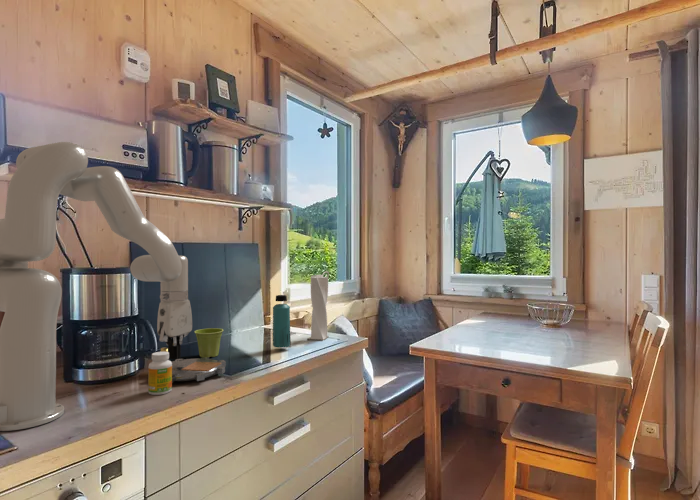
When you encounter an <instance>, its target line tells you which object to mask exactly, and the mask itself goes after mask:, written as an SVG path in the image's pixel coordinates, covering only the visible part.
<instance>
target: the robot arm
mask: <svg viewBox="0 0 700 500" xmlns="http://www.w3.org/2000/svg"><path fill="white" fill-rule="evenodd" d="M88 164H89V157H88V154H87V152H86V150H85V149H84V148H83V147H81V146H80V145H79V144H76V143H73V142H69V141H60V142H52V143H48V144H44V145H43V144H42V145H37V146H32V147H28V148H26V149H24V150H23V151H21V152H20V153H19V154H18V156H17V157H16V160H15V166H16V170H15V171H14V172H13V175H12V176H11V179H10V181H9V184H8V188H7V193H6V202H5V212H4V217H3V218H0V312H4V315H3V318H2V321H1V324H0V432H10V431H19V430H25V429H30V428H34V427H39V426H42V425H45V424H47V423H50V422H53V421H54V420H57V419H58V418H60V417H62V415H63V414H65V406H64V405H63V404H61V403H57V402H56V397H57V396H56V394H57V393H56V391H57V390H56V387H57V386H56V385H57V384H56V383H57V321H58V315H59V312H60V311H59V310H60V307H61V306H60V305H61V302H62V295H63V288H62V286H61V283H60V280H59V279H58V278H57V276H55V274H53V273H51V272H50V271H47V270H44V269H41V268H33V267H32V268H31V267H30V268H29V262H38V261H43V260H45V259H47V258H49V257H50V256H51V255H52V254H53V252H54V251H55V249H56V242H57V241H56V240H57V209H58V200H59V196H60V195H62V196H65V197H68V198H69V199H73V200H77V201H80V202H95V204H96V206H97V207H98V209H99V210H100V212H101V214H102V216H103V217H104V219H105V221H106V223H107V224H108V226H109V229H111V231H112V232H113V233H114V234H116V235H118V236H119V237H122V238H123V239H125V240H128V241H130V242H133V243H134V244H136V245H138V246H139V247H141V248H142V249H143V250H145V251H146V252H147V253H148V254H143V255H140V256H137V257H136V258H134V259H133V261H131V264H130V268H129V269H130V273H131V275H132V276H133V277H134V278H135V279H137V280H139V281H141V282H150V283H151V282H152V283H153V282H155V283H157V282H160V295H159V299H160V302H159V304H158V305H159V306H158V311H157V320H156V321H157V322H156V323H157V324H156V327H157V328H156V330H157V335H158V336H159V339H158V340H159V342H162V343H163V342H164V343H166V346H168V347H167V348H168V352H169V359H168V360H176V359H182V358H181V355H182V351H181V350H182V349H181V348H182V346H181V345H182V344H183V342H184V341H183V340H184V338H186V336H188V335H189V333H191V332H192V330H193V315H192V307H191V301H190V299H189V260H188V258H187V257H188V256H187V257H186V255H179V254H178V252H177V250H176V248H175V246H174V244H173V242H172V240H171V239H170V238H169V237H168V236H167V235H166V234H165V233H164V232H163V231H162V230H161V229H159V228H158V227H157V226H156V225H155V224H154V223H152V222H151V221H150V220H148V219H147V218H146V217H145V215H144V214H143V212H142V210H141V208H140V206H139V204H138V202H137V200H136V198H135V195H134V194H133V192H132V190H131V188H130V186H129V185H128V182H127V181H126V179H125V177H124V175H123V174H122V172H121V171H120V170H118V169H117V168H115V167H113V166H109V165H108V166H107V165H103V166H102V165H100V166H99V165H98V166H92V167H91V166H89V167H88Z"/></svg>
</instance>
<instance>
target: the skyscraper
mask: <svg viewBox="0 0 700 500" xmlns="http://www.w3.org/2000/svg"><path fill="white" fill-rule="evenodd" d="M326 273H327V276H324V274H326ZM329 275H330V272H329V271H327V270H326V271H324V272H323V273H322V274H316V275H314V274H313V275H311V276H310V300H311V306H312V310H311V326H310V332H311V333H310V336H309V337H308V338H307V341H320V340H324V341H325V340H327V339H328V338H329V335H328V315H327V314H328V313H327V304H328V303H327V302H328V298H329V297H328V296H329V295H328V294H329Z"/></svg>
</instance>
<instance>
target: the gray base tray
mask: <svg viewBox="0 0 700 500" xmlns="http://www.w3.org/2000/svg"><path fill="white" fill-rule="evenodd" d="M160 352H168V347H160ZM171 362H172V384H173V383H174V382H185V381H186V382H188V381H189V382H190V381H196V382H199V381H205V379H206V378H209V377H212V376H216V375H217V374H218V375H223V374H224V373H225V372H226V367H227V361H226V360H224V359H221V360H217V359H213V358H210V357H203V358H202V357H200V358H199V357H198V358H186V359H184V358H178V359H174V360H172V361H171ZM147 373H148V375H147V377H148V376H149V371H148V372H147Z"/></svg>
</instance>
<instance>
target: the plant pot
mask: <svg viewBox="0 0 700 500" xmlns="http://www.w3.org/2000/svg"><path fill="white" fill-rule="evenodd" d="M223 332H224V329H223V328H216V327H215V328H213V327H211V328H210V327H209V328H202V329H196V330H194V334H195V337H196V341H197V347H198V354H199V357H200V358H203V357H209V358H210V357H212V358H215V357H218V356H219V354H220V353H219V352H220V347H221V341H222V340H221V339H222V335H223Z"/></svg>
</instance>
